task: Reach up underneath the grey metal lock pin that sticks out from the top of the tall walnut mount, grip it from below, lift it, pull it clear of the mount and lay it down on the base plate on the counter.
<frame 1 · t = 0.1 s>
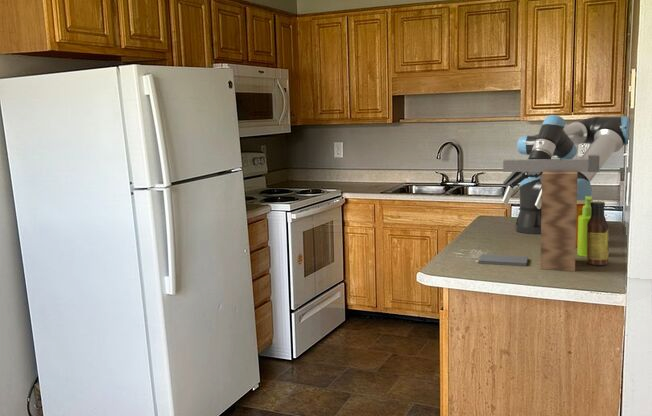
hand: (520, 205, 217), 15 cm above the counter, tool tilted 35°, fingers open, 13 cm apart
mount: (558, 264, 194), on the counter
base plate: (503, 261, 200), on the counter
baking soda box: (582, 245, 219), on the counter
soap dispenser: (586, 255, 204), on the counter
lock pin: (550, 171, 190), point 30 cm above the counter, touching mount
sauce bottle: (597, 264, 193), on the counter
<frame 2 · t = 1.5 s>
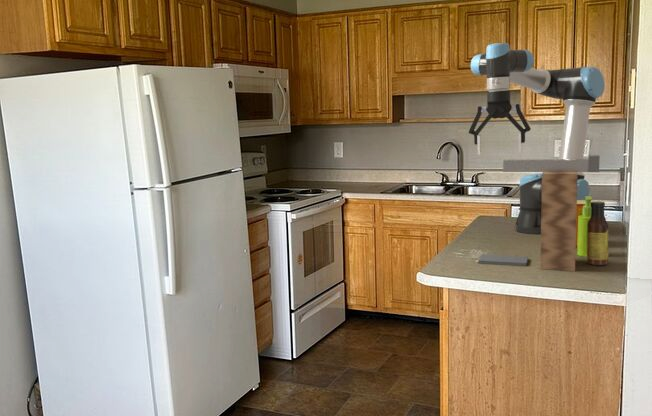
hand: (499, 153, 208), 35 cm above the counter, tool pointing down, fingers open, 13 cm apart
nothing on the counter moved.
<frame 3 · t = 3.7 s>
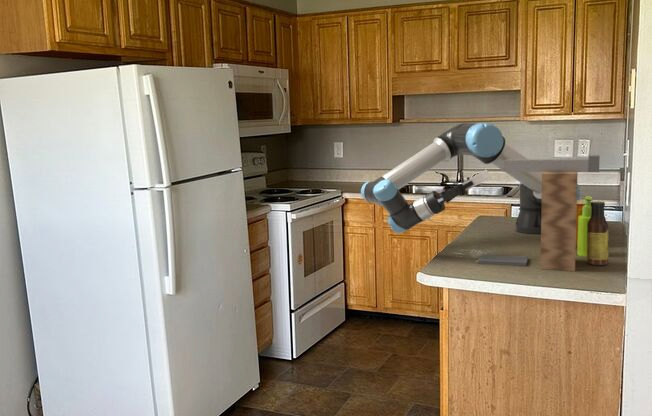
hand: (485, 174, 198), 29 cm above the counter, tool pointing upward, fingers open, 13 cm apart
nothing on the counter moved.
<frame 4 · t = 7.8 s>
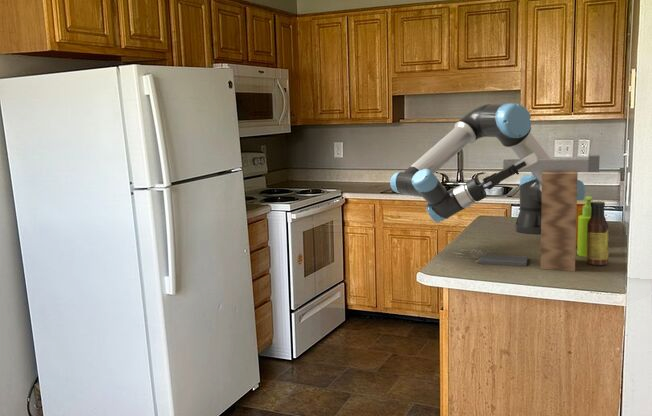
hand: (535, 156, 191), 35 cm above the counter, tool pointing upward, fingers closed on lock pin, 4 cm apart
lock pin: (550, 171, 190), point 30 cm above the counter, touching gripper, mount
everything else where it was.
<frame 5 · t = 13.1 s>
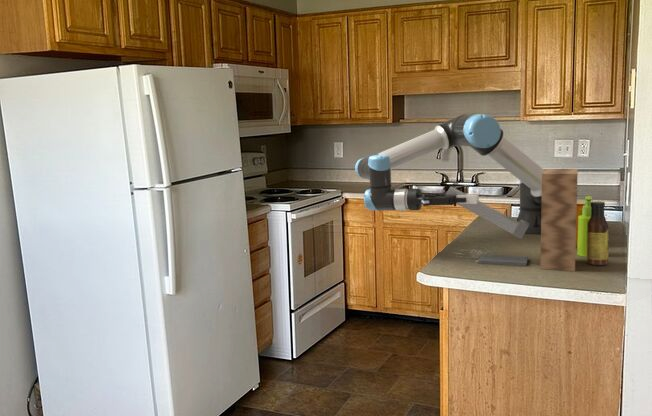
hand: (477, 198, 200), 21 cm above the counter, tool horizontal, fingers closed on lock pin, 4 cm apart
lock pin: (482, 216, 201), point 15 cm above the counter, tilted 28°, touching gripper
everything else where it was.
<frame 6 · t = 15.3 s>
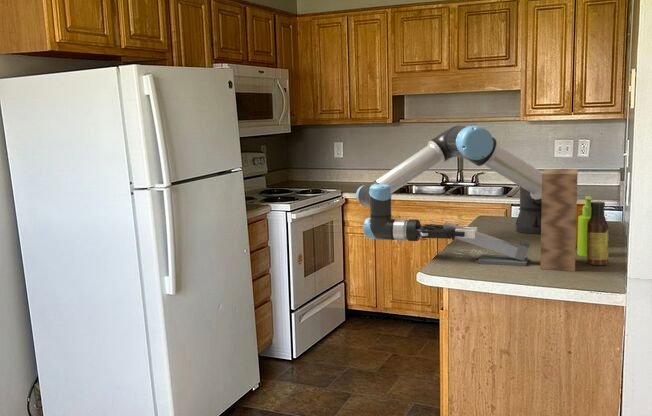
hand: (475, 232, 202), 9 cm above the counter, tool horizontal, fingers closed on lock pin, 4 cm apart
lock pin: (482, 245, 202), point 5 cm above the counter, tilted 17°, touching gripper
everything else where it was.
when the fingers open (6 cm above the counter, at t = 16.2 s): lock pin drops 2 cm, resting on base plate.
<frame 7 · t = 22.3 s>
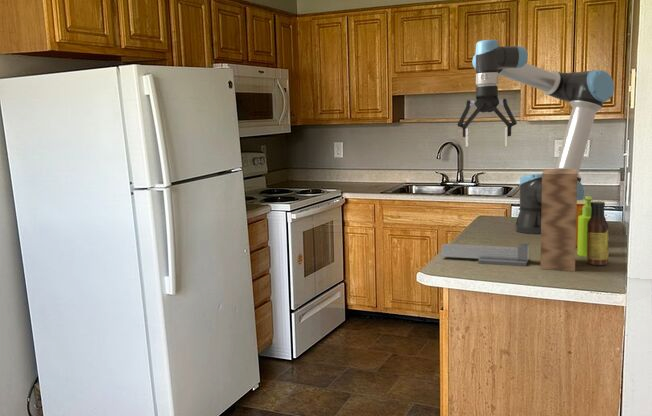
hand: (486, 146, 216), 37 cm above the counter, tool pointing down, fingers open, 13 cm apart
lock pin: (484, 257, 203), point 1 cm above the counter, touching base plate
everything else where it was.
at the end: lock pin point 1.0 cm above the counter; lock pin 6.2 cm from the base plate (horizontally); the gripper is holding nothing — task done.
